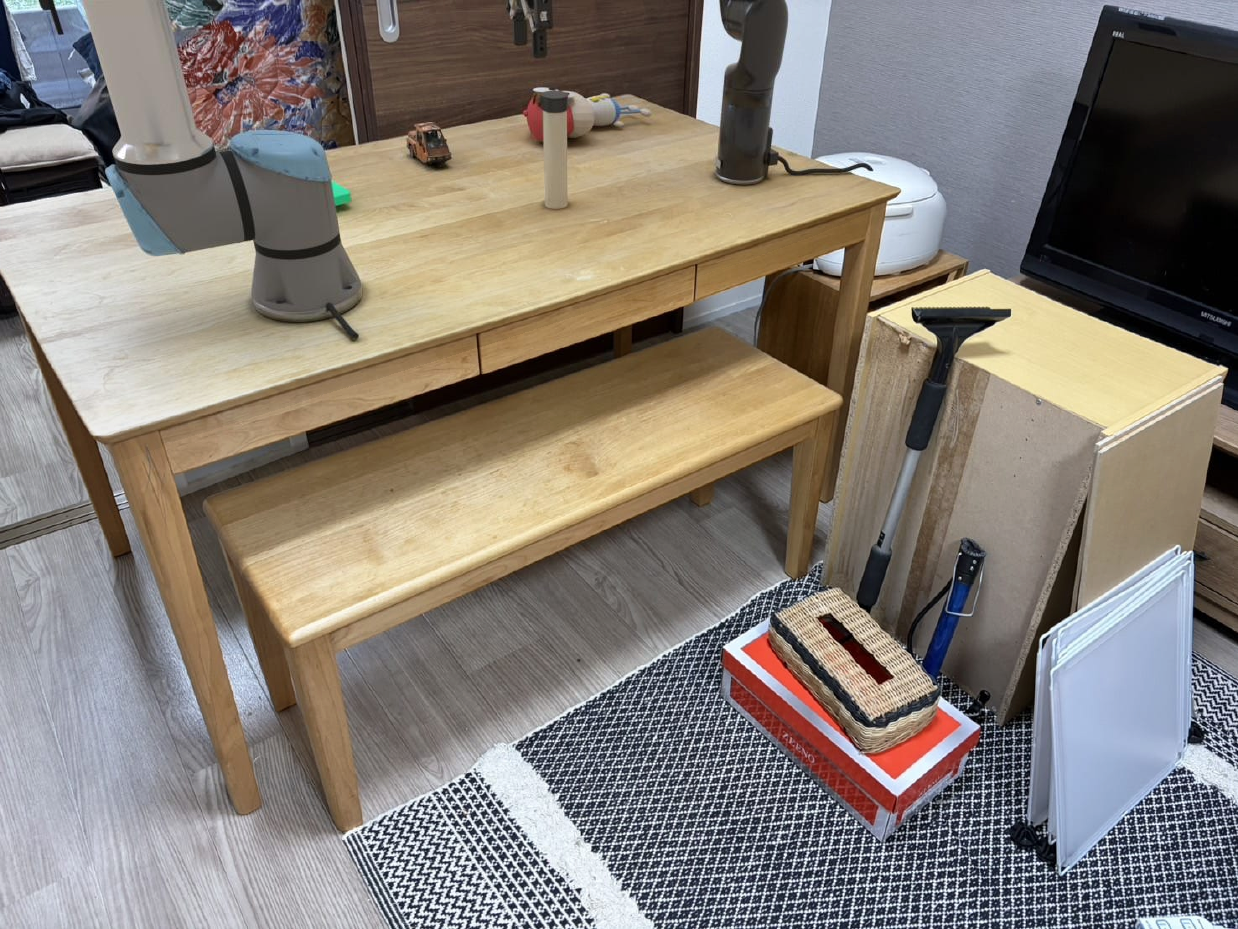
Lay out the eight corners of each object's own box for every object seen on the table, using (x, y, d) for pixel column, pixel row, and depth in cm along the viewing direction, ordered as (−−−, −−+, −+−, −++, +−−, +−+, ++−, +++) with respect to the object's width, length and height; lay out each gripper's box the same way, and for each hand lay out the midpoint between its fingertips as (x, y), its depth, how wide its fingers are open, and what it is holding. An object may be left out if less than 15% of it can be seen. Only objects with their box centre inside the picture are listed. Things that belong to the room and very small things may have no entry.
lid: (536, 110, 155) (536, 96, 154) (547, 103, 159) (547, 89, 157) (561, 113, 154) (561, 99, 152) (572, 106, 157) (572, 92, 156)
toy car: (429, 148, 188) (425, 113, 184) (459, 164, 181) (457, 129, 177) (400, 154, 185) (396, 118, 181) (431, 171, 178) (427, 134, 173)
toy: (670, 94, 197) (547, 94, 182) (666, 143, 201) (545, 148, 186) (623, 81, 210) (504, 81, 195) (620, 128, 215) (504, 131, 200)
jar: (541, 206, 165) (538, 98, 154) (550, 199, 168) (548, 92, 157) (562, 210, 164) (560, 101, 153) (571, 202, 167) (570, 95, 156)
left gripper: (151, -134, 141) (187, 17, 154) (-38, -132, 131) (17, 30, 144) (159, -130, 136) (195, 26, 149) (-37, -127, 126) (20, 41, 138)
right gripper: (568, -61, 132) (569, 60, 142) (532, -74, 142) (535, 39, 152) (518, -59, 130) (523, 64, 139) (486, -73, 140) (492, 42, 150)
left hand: (108, 29), depth 146 cm, fingers open, 13 cm apart
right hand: (529, 51), depth 146 cm, fingers open, 8 cm apart
